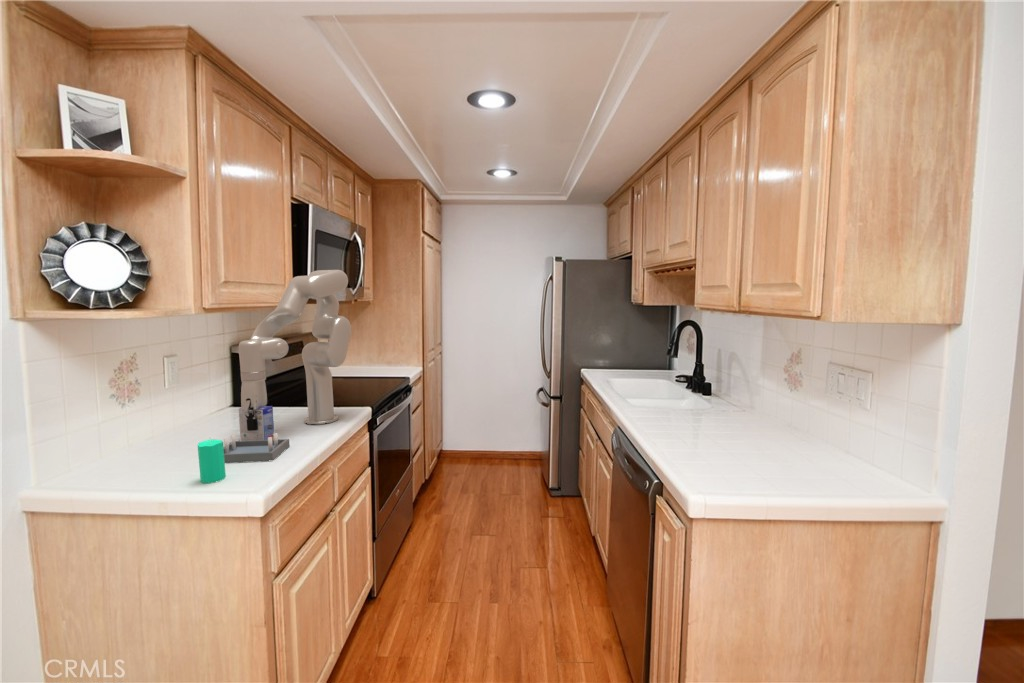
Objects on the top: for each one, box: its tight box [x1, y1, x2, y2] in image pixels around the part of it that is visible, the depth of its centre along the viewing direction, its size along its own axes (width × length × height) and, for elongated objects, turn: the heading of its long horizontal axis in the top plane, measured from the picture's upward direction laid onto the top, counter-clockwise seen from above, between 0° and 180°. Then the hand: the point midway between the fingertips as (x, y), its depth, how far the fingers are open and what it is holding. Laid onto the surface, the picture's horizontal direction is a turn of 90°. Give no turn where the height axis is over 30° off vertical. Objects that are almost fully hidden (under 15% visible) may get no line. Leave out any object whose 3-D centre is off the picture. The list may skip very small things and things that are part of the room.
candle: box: [197, 438, 227, 484], centre depth 136 cm, size 6×6×12 cm
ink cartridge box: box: [238, 405, 275, 441], centre depth 170 cm, size 10×6×14 cm, turn 79°
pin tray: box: [223, 432, 291, 464], centre depth 157 cm, size 14×18×6 cm
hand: (257, 427), depth 170 cm, fingers closed on ink cartridge box, 6 cm apart
